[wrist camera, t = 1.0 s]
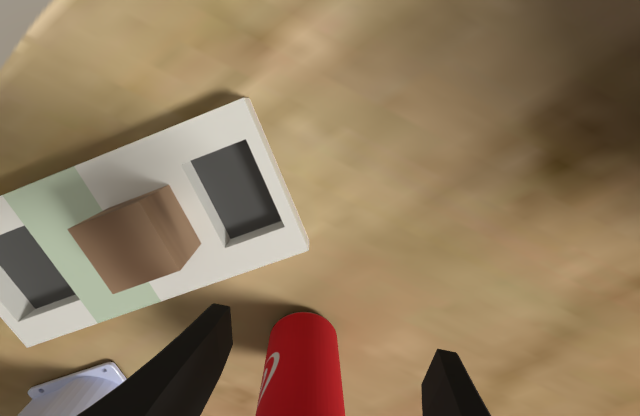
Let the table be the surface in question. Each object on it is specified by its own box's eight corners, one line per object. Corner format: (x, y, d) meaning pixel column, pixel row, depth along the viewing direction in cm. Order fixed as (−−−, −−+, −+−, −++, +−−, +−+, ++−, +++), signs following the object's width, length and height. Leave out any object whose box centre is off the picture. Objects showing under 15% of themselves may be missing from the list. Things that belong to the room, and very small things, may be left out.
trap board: (46, 331, 28) (27, 347, 27) (-48, 217, 25) (-78, 227, 23) (309, 239, 26) (308, 250, 24) (249, 97, 22) (243, 97, 20)
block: (144, 264, 24) (112, 294, 20) (108, 207, 23) (67, 229, 19) (201, 243, 24) (180, 270, 20) (169, 184, 22) (139, 201, 18)
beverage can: (257, 339, 29) (222, 490, 18) (296, 295, 28) (285, 428, 16) (310, 369, 31) (308, 527, 19) (350, 328, 29) (373, 474, 18)
